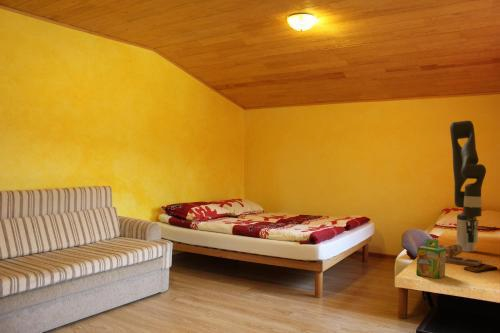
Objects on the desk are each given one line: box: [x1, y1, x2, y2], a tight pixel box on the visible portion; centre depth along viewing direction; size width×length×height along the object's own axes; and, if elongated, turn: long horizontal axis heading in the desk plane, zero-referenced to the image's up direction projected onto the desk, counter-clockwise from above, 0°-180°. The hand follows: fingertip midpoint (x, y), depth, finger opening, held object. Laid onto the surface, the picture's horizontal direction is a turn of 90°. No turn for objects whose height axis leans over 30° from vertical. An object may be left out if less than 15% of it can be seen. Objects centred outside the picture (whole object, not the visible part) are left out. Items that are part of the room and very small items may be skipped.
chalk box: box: [416, 238, 447, 280], centre depth 176 cm, size 9×9×15 cm
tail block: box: [466, 229, 479, 244], centre depth 201 cm, size 4×4×6 cm
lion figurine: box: [438, 243, 463, 259], centre depth 209 cm, size 15×5×9 cm, turn 42°
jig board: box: [445, 254, 483, 267], centre depth 206 cm, size 12×22×2 cm, turn 51°
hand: (471, 241), depth 201 cm, fingers closed on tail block, 4 cm apart
